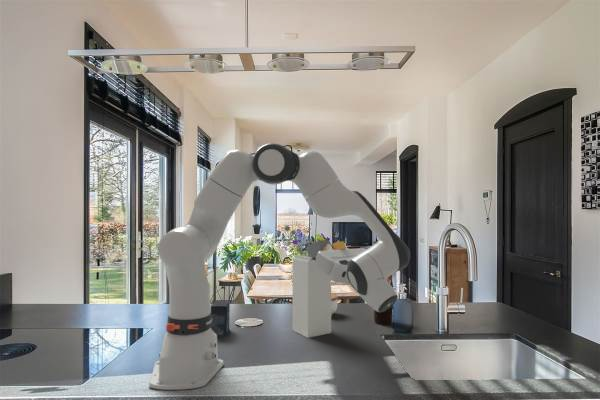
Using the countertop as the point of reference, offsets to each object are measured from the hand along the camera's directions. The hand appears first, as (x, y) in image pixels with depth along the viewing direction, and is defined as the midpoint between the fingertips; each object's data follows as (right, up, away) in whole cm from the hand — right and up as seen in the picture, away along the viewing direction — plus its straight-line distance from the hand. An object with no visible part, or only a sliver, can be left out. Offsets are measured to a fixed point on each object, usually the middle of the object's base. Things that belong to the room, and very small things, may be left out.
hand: (332, 245), depth 135 cm
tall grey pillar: (-7, -32, +10) cm, 34 cm away
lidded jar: (0, -33, +34) cm, 47 cm away
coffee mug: (+22, -33, +23) cm, 45 cm away
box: (-39, -32, +8) cm, 51 cm away
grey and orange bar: (-2, -3, +3) cm, 5 cm away
